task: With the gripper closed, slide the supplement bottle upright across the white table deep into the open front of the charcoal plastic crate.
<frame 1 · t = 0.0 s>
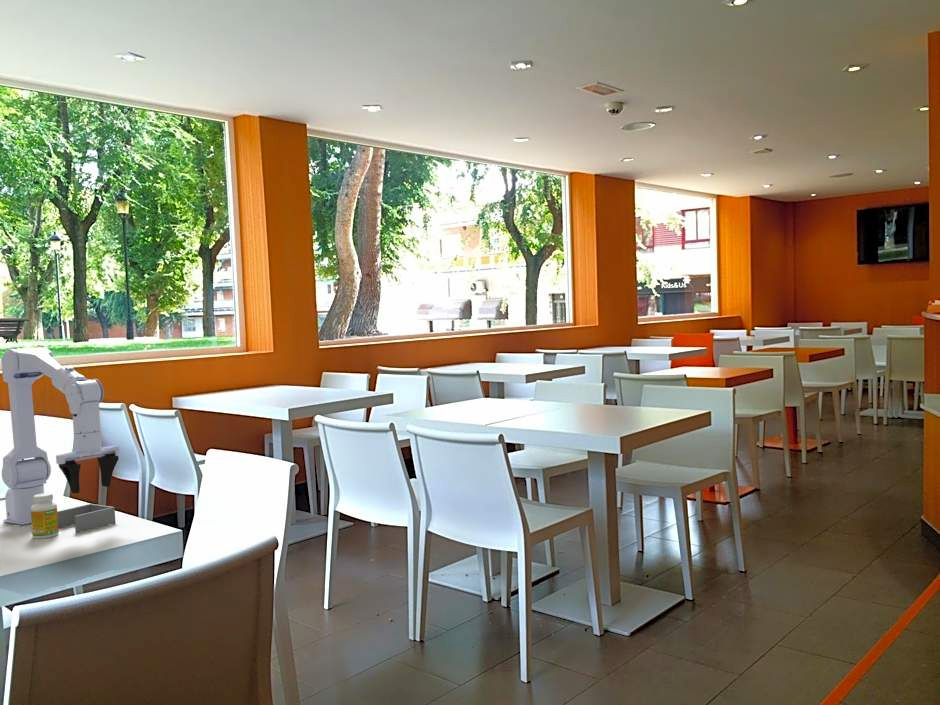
hand: (90, 489, 187), 10 cm above the table, fingers open, 7 cm apart
crate: (84, 526, 194), on the table
supplement bottle: (45, 536, 186), on the table
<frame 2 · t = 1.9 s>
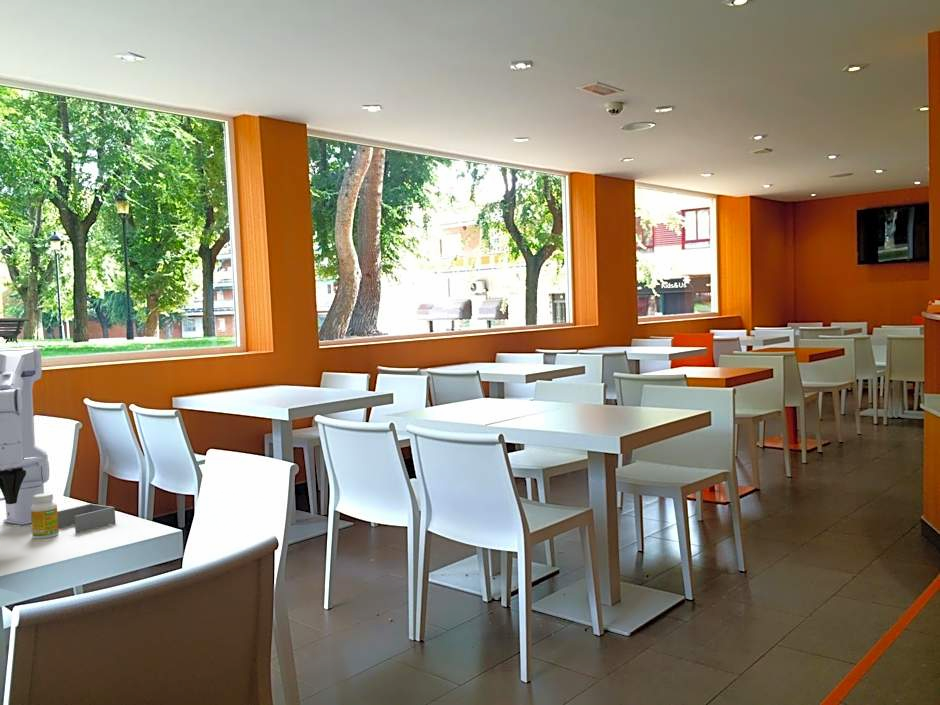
hand: (11, 503, 180), 9 cm above the table, fingers closed
nothing on the table moved.
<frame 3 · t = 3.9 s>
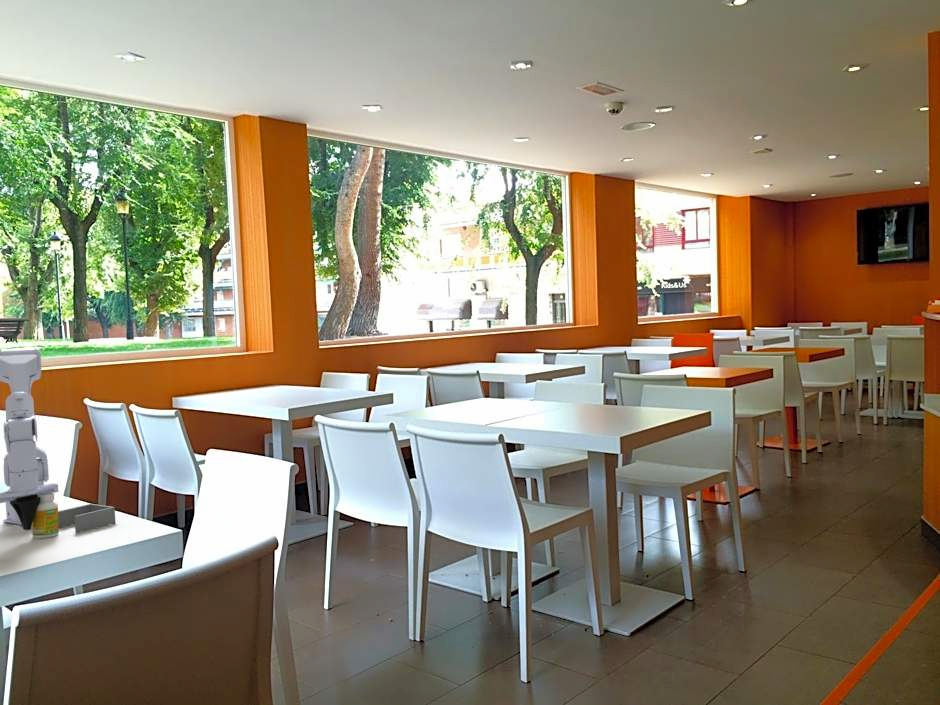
hand: (27, 529, 183), 3 cm above the table, fingers closed
supplement bottle: (45, 536, 186), on the table, touching gripper
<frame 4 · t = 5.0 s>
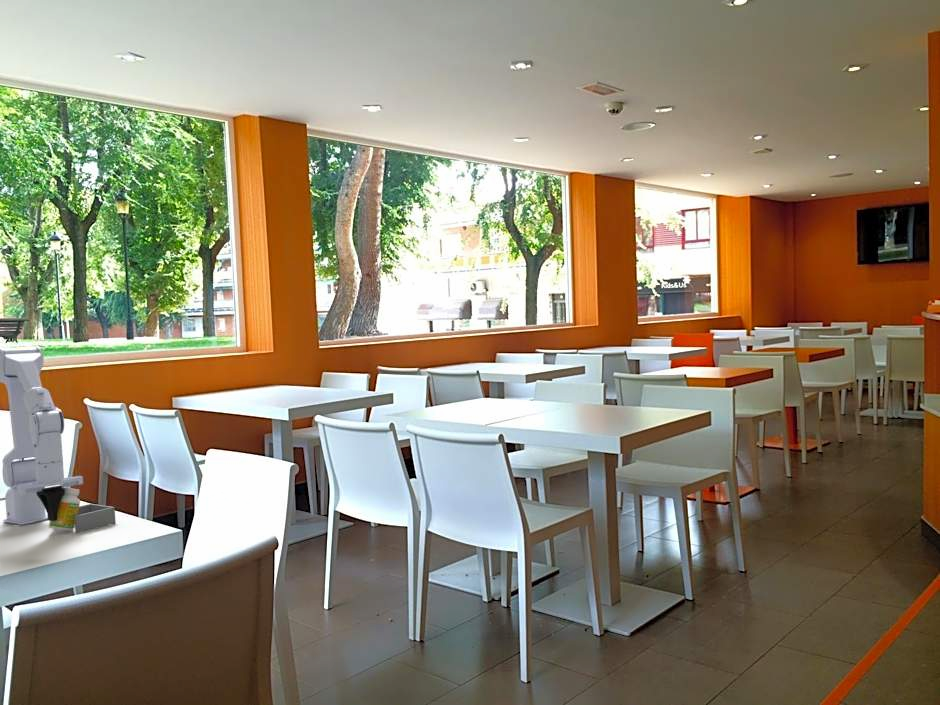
hand: (53, 520, 187), 3 cm above the table, fingers closed, pressing on supplement bottle
supplement bottle: (60, 530, 189), point 1 cm above the table, touching gripper
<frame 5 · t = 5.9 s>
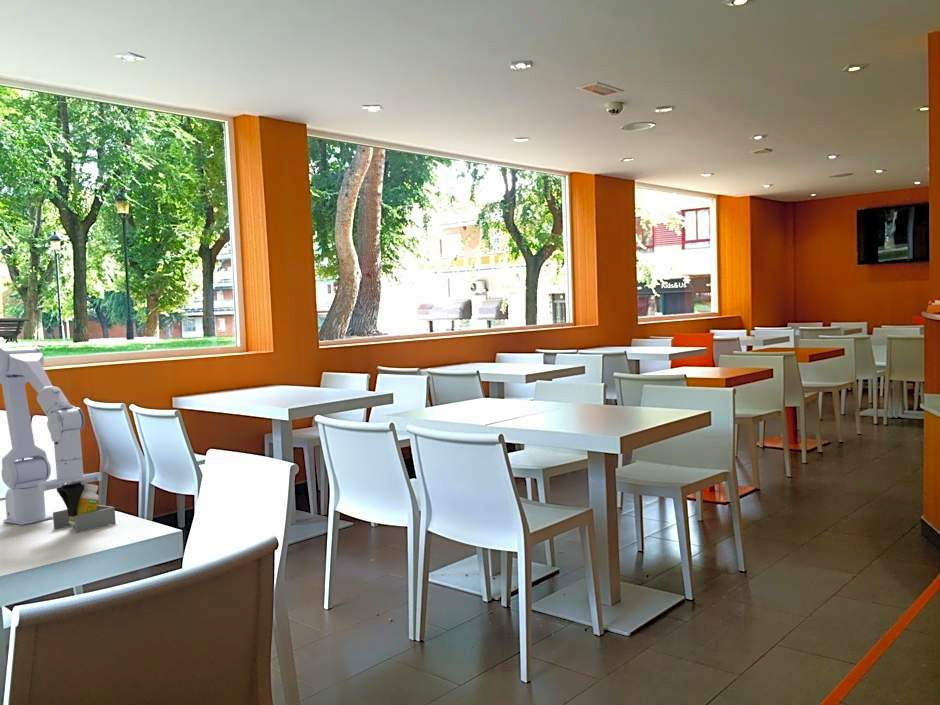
hand: (73, 516, 191), 3 cm above the table, fingers closed, pressing on supplement bottle
supplement bottle: (80, 525, 193), on the table, touching gripper
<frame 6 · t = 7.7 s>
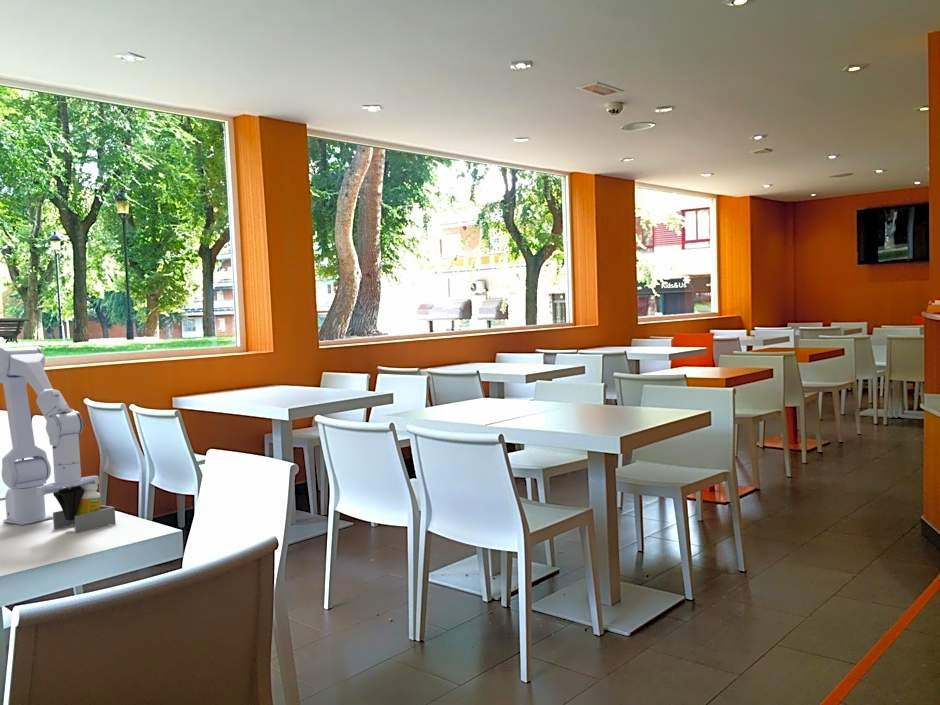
hand: (70, 519, 191), 2 cm above the table, fingers closed
supplement bottle: (87, 525, 195), on the table, touching gripper
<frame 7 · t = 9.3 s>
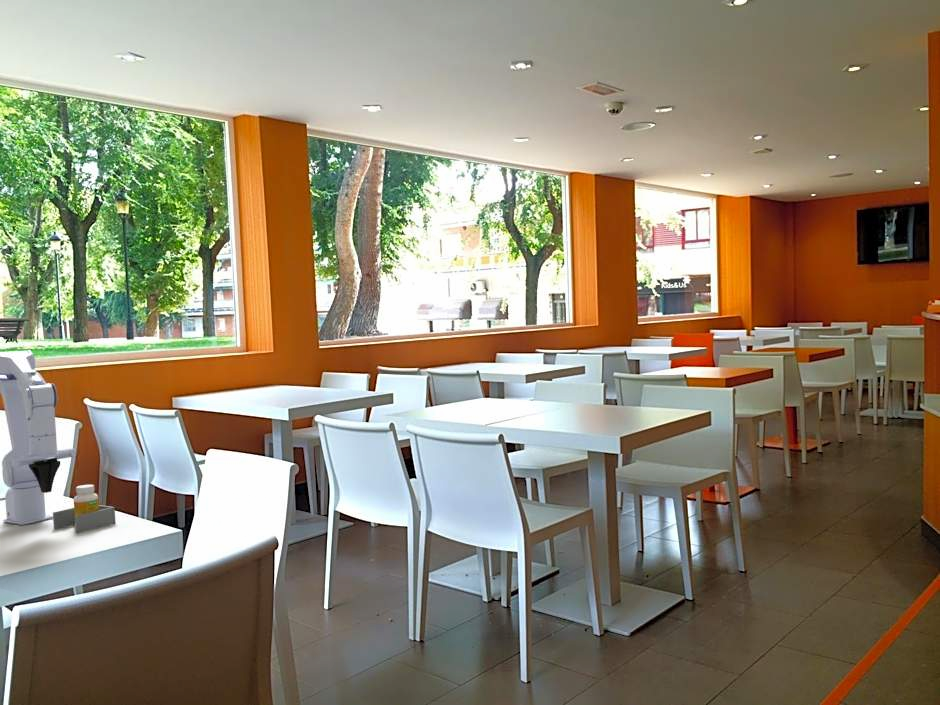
hand: (46, 491, 191), 9 cm above the table, fingers closed
supplement bottle: (87, 526, 195), on the table
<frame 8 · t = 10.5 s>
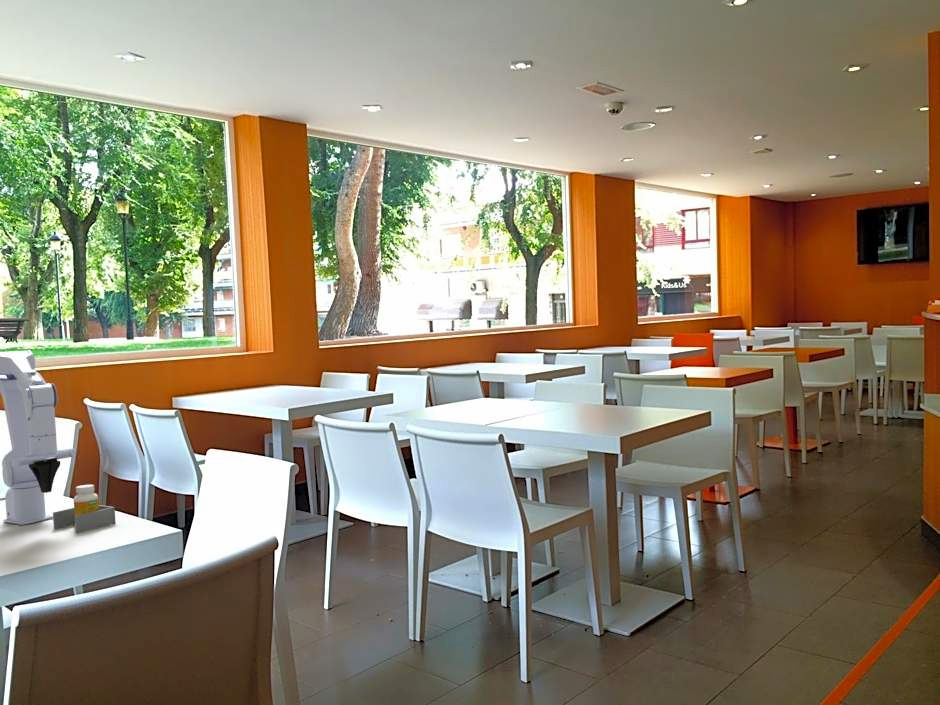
hand: (46, 491, 191), 9 cm above the table, fingers closed
nothing on the table moved.
at the end: supplement bottle 0.3 cm off-centre on the crate, point 0.0 cm above the crate's base; supplement bottle tilted 0°; the gripper is holding nothing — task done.
